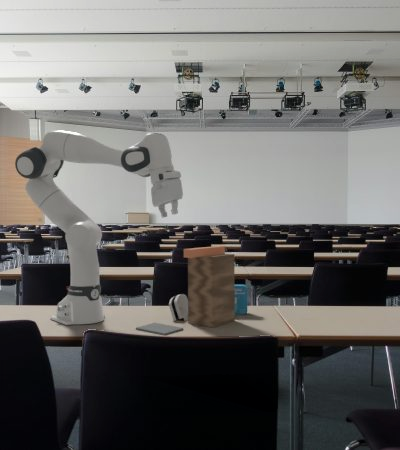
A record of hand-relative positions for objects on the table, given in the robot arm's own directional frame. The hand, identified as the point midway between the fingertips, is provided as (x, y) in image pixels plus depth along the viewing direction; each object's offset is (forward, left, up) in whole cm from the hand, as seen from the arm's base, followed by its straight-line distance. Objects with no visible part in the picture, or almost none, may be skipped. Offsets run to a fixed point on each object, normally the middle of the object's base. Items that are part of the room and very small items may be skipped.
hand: (169, 215), depth 166 cm
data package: (+2, +37, -41) cm, 56 cm away
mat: (-4, -2, -41) cm, 41 cm away
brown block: (+4, +19, -41) cm, 46 cm away
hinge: (-12, +20, -42) cm, 48 cm away
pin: (+4, +15, -15) cm, 22 cm away
